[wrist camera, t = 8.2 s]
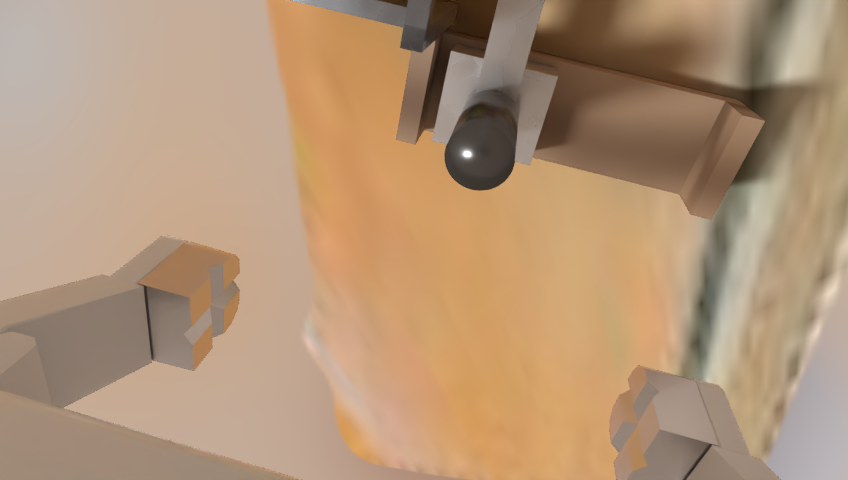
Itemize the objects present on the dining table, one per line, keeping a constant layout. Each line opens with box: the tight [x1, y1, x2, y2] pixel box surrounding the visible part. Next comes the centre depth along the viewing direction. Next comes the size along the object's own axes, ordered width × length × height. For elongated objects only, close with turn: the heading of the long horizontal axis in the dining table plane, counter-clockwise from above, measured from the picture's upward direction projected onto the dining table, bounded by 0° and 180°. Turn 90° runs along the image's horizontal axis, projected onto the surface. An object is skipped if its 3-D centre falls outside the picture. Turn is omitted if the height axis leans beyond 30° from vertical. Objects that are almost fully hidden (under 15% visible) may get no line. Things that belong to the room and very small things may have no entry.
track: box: [396, 30, 765, 220], centre depth 26 cm, size 5×16×4 cm, turn 79°
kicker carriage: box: [432, 0, 558, 190], centre depth 21 cm, size 13×5×9 cm, turn 169°
